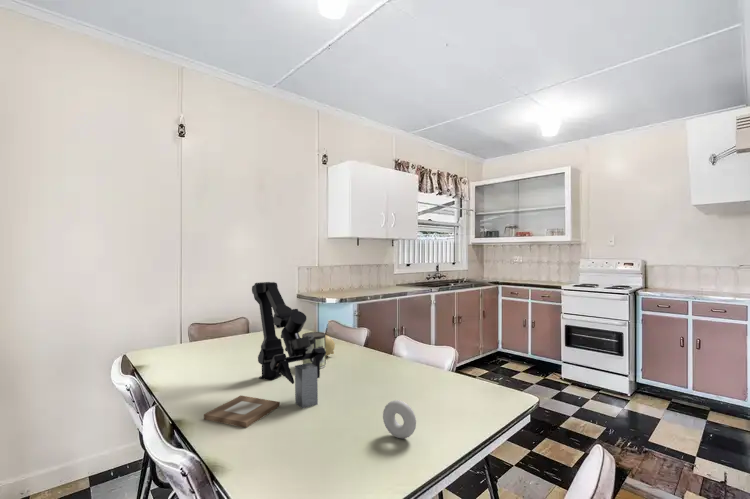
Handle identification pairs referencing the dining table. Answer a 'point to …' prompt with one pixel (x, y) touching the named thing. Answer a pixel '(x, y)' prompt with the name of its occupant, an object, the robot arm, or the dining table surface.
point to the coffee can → (316, 346)
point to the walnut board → (242, 411)
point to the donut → (406, 414)
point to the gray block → (306, 385)
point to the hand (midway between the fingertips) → (306, 380)
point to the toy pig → (329, 345)
